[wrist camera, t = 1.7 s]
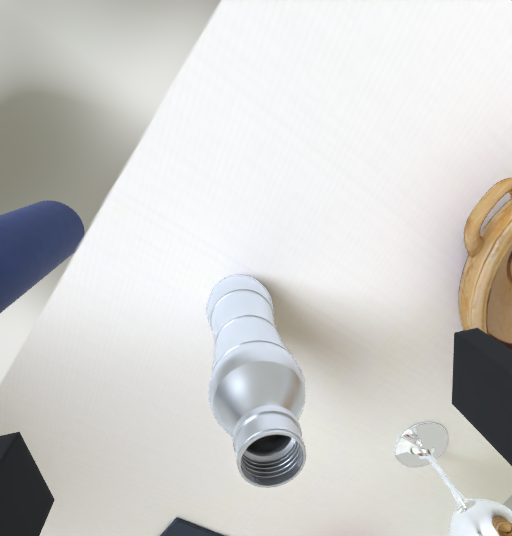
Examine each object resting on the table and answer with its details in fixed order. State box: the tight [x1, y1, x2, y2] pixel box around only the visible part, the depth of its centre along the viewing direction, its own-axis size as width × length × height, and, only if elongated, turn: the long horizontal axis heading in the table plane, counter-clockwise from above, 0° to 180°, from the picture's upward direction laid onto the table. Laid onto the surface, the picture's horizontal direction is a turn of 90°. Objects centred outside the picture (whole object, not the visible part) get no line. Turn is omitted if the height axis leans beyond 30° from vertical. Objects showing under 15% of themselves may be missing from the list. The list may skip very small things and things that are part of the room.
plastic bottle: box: [207, 275, 306, 488], centre depth 27 cm, size 6×7×20 cm
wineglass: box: [394, 422, 512, 536], centre depth 38 cm, size 8×8×20 cm
